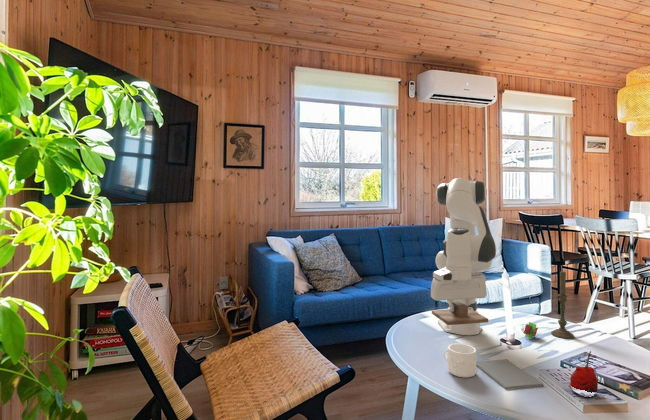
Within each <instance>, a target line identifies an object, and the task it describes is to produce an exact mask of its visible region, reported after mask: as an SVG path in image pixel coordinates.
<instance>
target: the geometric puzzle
mask: <svg viewBox="0 0 650 420" xmlns="http://www.w3.org/2000/svg"><path fill="white" fill-rule="evenodd" d="M520 330H521V332H522V334H524V337H526V338H528V339H531V340H533V339H534V338H536V337H538V335H537V334H541V333H540V331H538V330H539V327H538V326H537V324H535V323H532V322H530V321H528V323H527V324H526V323H525V324H522V326H521V329H520ZM538 332H539V333H538ZM536 335H537V336H536Z"/></svg>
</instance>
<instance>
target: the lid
mask: <svg viewBox="0 0 650 420" xmlns="http://www.w3.org/2000/svg"><path fill="white" fill-rule="evenodd" d="M452 304H453V306H455V307H456V312H451V311H450V309H448V308H446V309H434V310H433V309H432V310H431V314H432V315H433V316H434V317H436V318H437V319H438V320H441V321H443V322H444V323H446V324H447V325H457V324H472V323H480V324H482V323H483V324H485V323H489V318H488V317H486V316H484V315H482V314H481V313H479V312H478V311H477V312H478V313H477V312H475V311H473V310H471V309H470V308H468V306H467V305H465V304H463V303H461V302H459V301H453V303H452Z"/></svg>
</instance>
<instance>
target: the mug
mask: <svg viewBox="0 0 650 420" xmlns="http://www.w3.org/2000/svg"><path fill="white" fill-rule="evenodd" d="M443 357H444V359H445V361H447V362H446V363H447V365H448V366H447V369H448V372H449V373H450V374H452V375H454V376H455V377H459V378H472V377H474V376H475V375H476V373H477V366H476V362H477V349H476V348H475V346H472V345H469V344H465V343H451V344H449V345H448V346H447V349H444V351H443Z"/></svg>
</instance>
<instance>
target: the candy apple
mask: <svg viewBox="0 0 650 420" xmlns="http://www.w3.org/2000/svg"><path fill="white" fill-rule="evenodd" d="M585 353H586V354H587V360H585V361H586V364H585V366H579V365H578V366H576V367H575V370H574V371H573V372H572V374H571V375H570V377H569V380H570V382H569V386H570V385H571V386H572V387H574V388H576V389H580V390H585V391H587V392H591V393H592V392H597V391H598V384H599V381H598V377H597V375H596V373H595V370H594V367H592V366H589V362H590V358H593V359H597V355H596V354H595V355H592V354H591V353H592V351H589V352H587V351H585ZM597 393H598V392H597Z"/></svg>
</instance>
